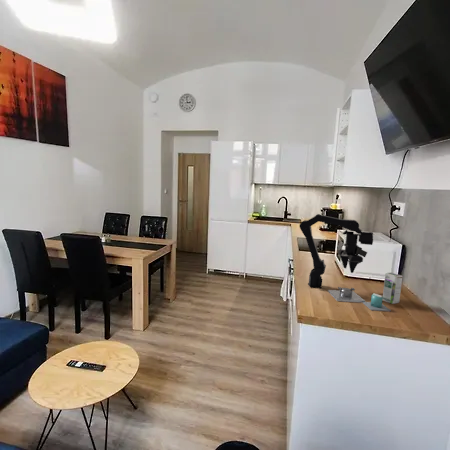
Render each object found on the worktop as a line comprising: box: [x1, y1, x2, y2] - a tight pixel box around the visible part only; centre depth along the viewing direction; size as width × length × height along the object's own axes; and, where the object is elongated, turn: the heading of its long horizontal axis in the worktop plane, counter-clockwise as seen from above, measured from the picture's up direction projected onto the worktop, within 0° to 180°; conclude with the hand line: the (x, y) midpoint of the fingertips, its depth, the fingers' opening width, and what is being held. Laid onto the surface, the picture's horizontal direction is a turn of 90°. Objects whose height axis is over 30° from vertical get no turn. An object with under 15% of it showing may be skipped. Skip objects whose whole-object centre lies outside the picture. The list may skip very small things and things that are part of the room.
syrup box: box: [382, 272, 404, 305], centre depth 145 cm, size 6×6×14 cm
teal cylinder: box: [370, 293, 384, 308], centre depth 137 cm, size 5×5×6 cm
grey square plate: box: [327, 286, 366, 304], centre depth 149 cm, size 14×14×5 cm
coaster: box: [362, 301, 392, 312], centre depth 138 cm, size 9×9×1 cm
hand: (348, 270), depth 157 cm, fingers open, 9 cm apart
